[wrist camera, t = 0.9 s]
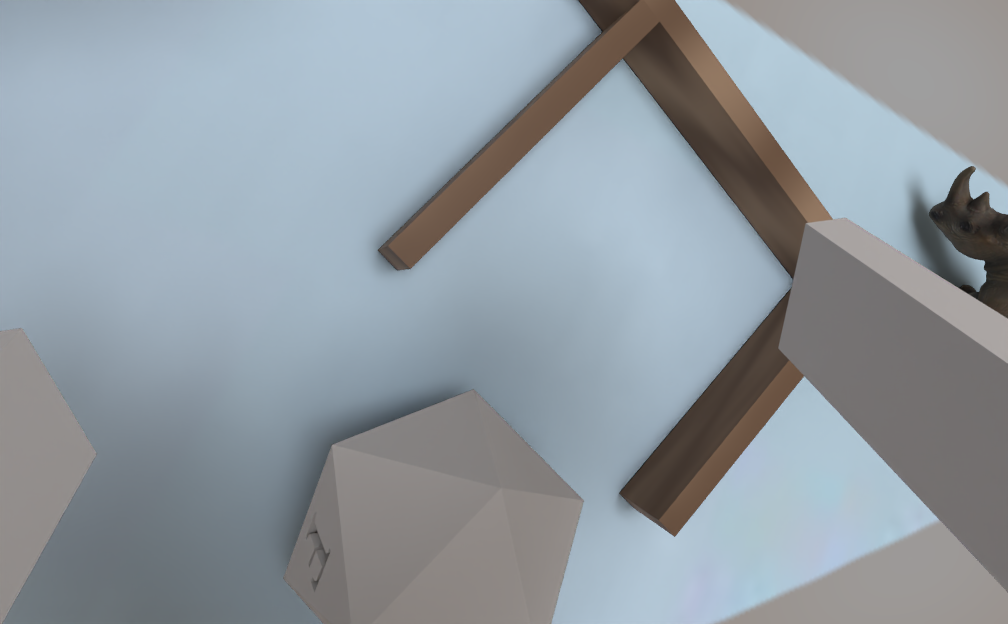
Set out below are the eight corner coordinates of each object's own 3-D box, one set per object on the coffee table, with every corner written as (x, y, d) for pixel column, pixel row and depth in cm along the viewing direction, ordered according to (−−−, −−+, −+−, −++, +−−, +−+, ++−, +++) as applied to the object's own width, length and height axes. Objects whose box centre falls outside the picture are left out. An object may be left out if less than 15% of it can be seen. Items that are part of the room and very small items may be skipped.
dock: (325, 198, 21) (328, 185, 18) (579, -38, 24) (616, -81, 21) (669, 544, 26) (713, 576, 23) (849, 320, 29) (908, 324, 26)
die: (432, 331, 23) (257, 416, 14) (638, 442, 21) (584, 619, 12) (366, 499, 26) (180, 660, 17) (545, 611, 24) (445, 861, 15)
